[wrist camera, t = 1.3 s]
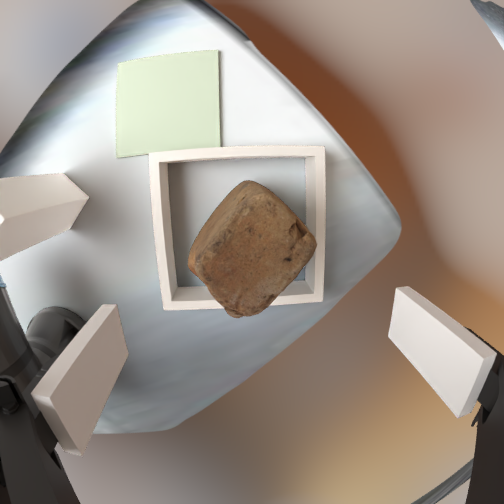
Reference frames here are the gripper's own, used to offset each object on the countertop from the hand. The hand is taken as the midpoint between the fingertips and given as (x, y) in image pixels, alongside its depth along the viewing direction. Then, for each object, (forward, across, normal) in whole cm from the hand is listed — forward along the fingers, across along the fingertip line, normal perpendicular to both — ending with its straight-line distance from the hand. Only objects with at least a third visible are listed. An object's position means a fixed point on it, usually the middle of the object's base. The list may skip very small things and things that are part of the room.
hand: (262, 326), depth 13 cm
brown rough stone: (+28, 0, 0) cm, 28 cm away
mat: (+28, -9, +17) cm, 34 cm away
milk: (+28, -25, +5) cm, 38 cm away
